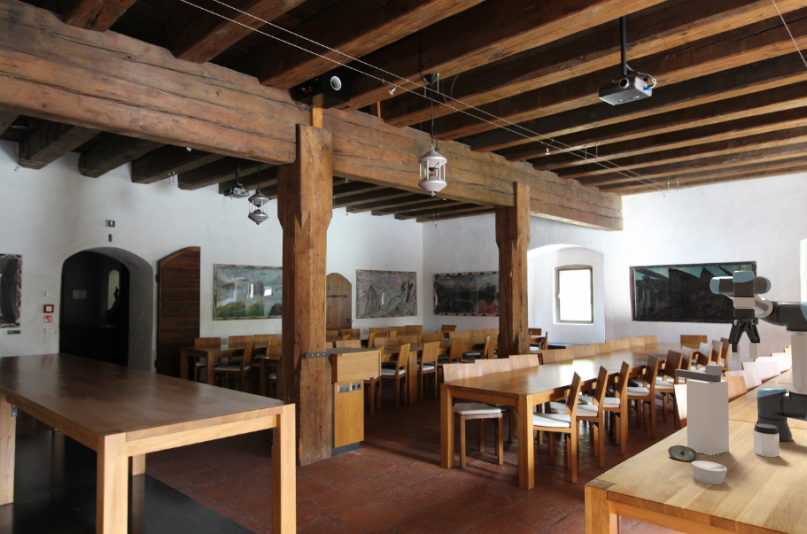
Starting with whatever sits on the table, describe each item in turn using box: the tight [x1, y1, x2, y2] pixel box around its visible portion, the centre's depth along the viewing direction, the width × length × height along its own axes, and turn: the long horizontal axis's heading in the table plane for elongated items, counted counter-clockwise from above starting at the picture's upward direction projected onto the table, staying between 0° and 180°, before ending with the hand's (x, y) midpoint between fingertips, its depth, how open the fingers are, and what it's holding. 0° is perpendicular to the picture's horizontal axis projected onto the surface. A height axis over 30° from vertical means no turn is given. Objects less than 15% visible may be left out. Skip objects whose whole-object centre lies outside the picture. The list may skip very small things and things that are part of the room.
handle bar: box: [674, 363, 723, 383], centre depth 233 cm, size 5×19×7 cm, turn 30°
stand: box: [686, 378, 730, 456], centre depth 228 cm, size 14×10×30 cm
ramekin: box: [691, 460, 728, 485], centre depth 191 cm, size 11×11×5 cm
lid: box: [667, 444, 698, 462], centre depth 216 cm, size 11×10×5 cm
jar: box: [753, 423, 780, 458], centre depth 223 cm, size 9×8×12 cm
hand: (744, 359), depth 217 cm, fingers open, 13 cm apart
